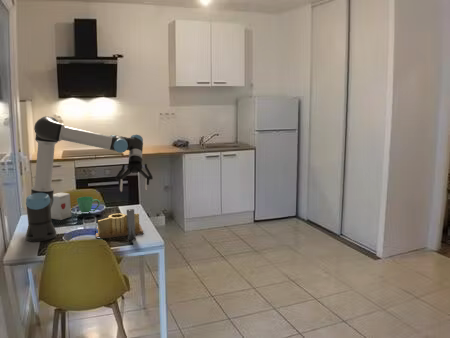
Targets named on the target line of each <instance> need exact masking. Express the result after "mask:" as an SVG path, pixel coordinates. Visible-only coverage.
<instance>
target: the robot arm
mask: <svg viewBox="0 0 450 338" xmlns="http://www.w3.org/2000/svg"><path fill="white" fill-rule="evenodd" d="M33 129H34V133H35V138H34V139H35V142H37V153H36V162H35V163H36V165H35V176H34V177H35V178H34V185H33V186H32V187H31V188H30V189H31V190H30V191H31V192H30V194H29V195H27V196H26V198H25V206H26V214H27V223H28V224H27V225H28V226H27V229H26V232H25V240H26V241H28V242H32V243H36V242H37V243H39V242H46V241H49V240H52V239H54V238H56V237H57V231H56V228H55V226H54V224H53V221H52V218H51V207H52V205H53V202H54V198H53V194H54V192H55V189H54V187H53V186H52V182H53V181H52V180H53V171H54V170H53V168H54V159H55V158H54V157H55V147H56V144H57V143H58V142H62V141H65V142H70V143H75V144H80V145H85V146H90V147H95V148H100V149H105V150H108V151H109V150H110V151H113V152H117V153H118V154H119V153H121V154H122V153H123V154H124V153H125V152H126V151H129V153H128V165H125V164H122V166H121V169H120V170H119V171H118V173H117V175H116V176H115V180H116V182H117V181H118V186H119V191H120V193H122V192H123V186H124V185H123V183H124V181H123V180H124V179H125V178H126V177H127V176H128V175H130V174H131V173H132V174H135V173H136V174H137V173H139V174H141V175H142V176H143V178H145V179H144V183H145V184H144V190H145V191H148V186H149V185H150V181H151V180H153V175H152V172H150V170H149V167H148V164H147V163H145V164H143V149H144V147H143V146H144V142H143V141H144V139H143V136H142V135H140V134H133V135H131V136H130V137H126V136H120V135H116V134H115V135H114V134H110V135H107V134H103V133H98V132H92V131H88V130H85V129H84V130H83V129H79V128H74V127H71V126H70V127H69V126H65V124H64V123H61V122H59V121H58V119H56V118H54V117H52V116H46V115H45V116H43V117H41V118H39V119H37V121H36V122H35V123H34V127H33ZM142 169H143V170H145V171H146V172H145V171H143V170H142Z"/></svg>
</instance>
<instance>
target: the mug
mask: <svg viewBox="0 0 450 338" xmlns="http://www.w3.org/2000/svg"><path fill="white" fill-rule="evenodd" d="M94 202H97V205H96V207H95V208H94V209H92V208H93V203H94ZM76 203H77V205H78V208H79V211H80V213H81V212H89V211H93V212H95V211H97V209H99V207H100V206H101V201H100V200H99V199H97V198H95V199H94V198H93V196H80V197H77V198H76Z"/></svg>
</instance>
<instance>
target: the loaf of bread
mask: <svg viewBox="0 0 450 338" xmlns="http://www.w3.org/2000/svg"><path fill="white" fill-rule="evenodd" d="M134 215H135V236H136V235H142V234H144V230H143V228H142V226H141V224H140V213H134ZM96 228H97V229H98V233H96V234H95V238H96V237H100V238H101V239H108V238H116V237H117V238H119V237H125V236H127V237H128V230H127V214H124V213H120V212H119V213H112V214H109V215H108V216H107V217H106V218H103V219H99V220H97V227H96Z"/></svg>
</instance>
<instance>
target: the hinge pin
mask: <svg viewBox="0 0 450 338" xmlns="http://www.w3.org/2000/svg"><path fill="white" fill-rule="evenodd" d="M134 214H135V209H133V208H129V209H126V215H127V230H128V235H127V240H128V241H135V240H136V239H137V236H136V235H135V215H134Z"/></svg>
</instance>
